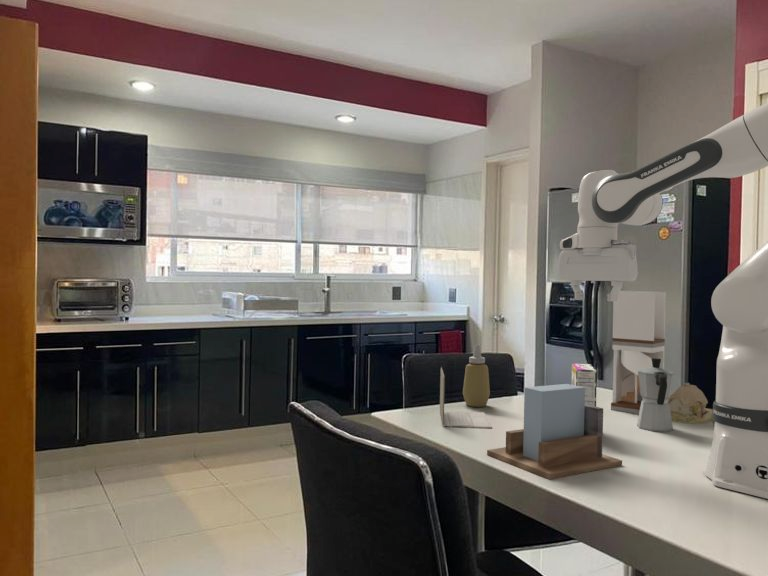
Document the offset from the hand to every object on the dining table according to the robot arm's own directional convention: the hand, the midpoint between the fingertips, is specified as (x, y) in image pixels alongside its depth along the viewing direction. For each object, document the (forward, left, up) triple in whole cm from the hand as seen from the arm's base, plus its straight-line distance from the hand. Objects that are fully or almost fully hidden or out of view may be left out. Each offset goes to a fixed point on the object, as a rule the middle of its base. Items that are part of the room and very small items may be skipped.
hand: (595, 300), depth 142 cm
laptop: (+31, +14, -33) cm, 47 cm away
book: (-7, +20, -32) cm, 38 cm away
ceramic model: (+7, -45, -33) cm, 56 cm away
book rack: (-7, +20, -33) cm, 39 cm away
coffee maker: (+2, -25, -33) cm, 42 cm away
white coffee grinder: (+20, -41, -33) cm, 56 cm away
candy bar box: (+7, -4, -33) cm, 34 cm away
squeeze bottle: (+45, -1, -33) cm, 56 cm away
